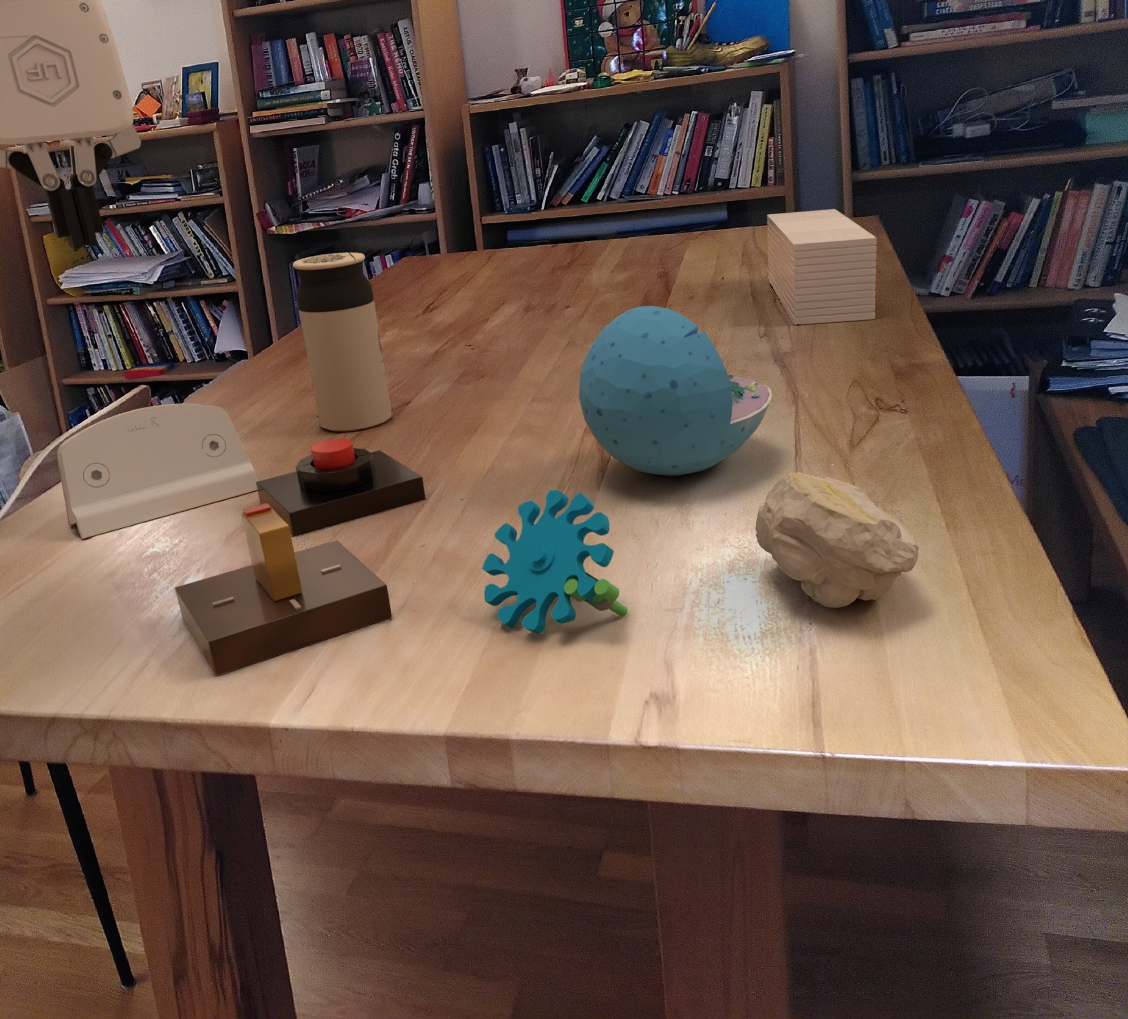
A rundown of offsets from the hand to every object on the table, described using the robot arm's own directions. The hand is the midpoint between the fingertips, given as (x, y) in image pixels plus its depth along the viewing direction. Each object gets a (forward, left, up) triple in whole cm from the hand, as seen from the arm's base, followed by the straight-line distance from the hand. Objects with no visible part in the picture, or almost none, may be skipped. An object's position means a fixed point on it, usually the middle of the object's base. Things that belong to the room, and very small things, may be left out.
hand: (83, 245), depth 74 cm
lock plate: (+5, -16, -25) cm, 30 cm away
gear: (+20, -28, -25) cm, 43 cm away
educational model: (+43, -11, -25) cm, 51 cm away
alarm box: (+16, +3, -25) cm, 30 cm away
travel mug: (+26, +26, -25) cm, 45 cm away
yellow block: (+5, -16, -23) cm, 28 cm away
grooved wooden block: (+101, +32, -25) cm, 109 cm away
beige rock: (+36, -37, -25) cm, 57 cm away
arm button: (+16, +3, -21) cm, 27 cm away
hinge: (+3, +15, -25) cm, 30 cm away
